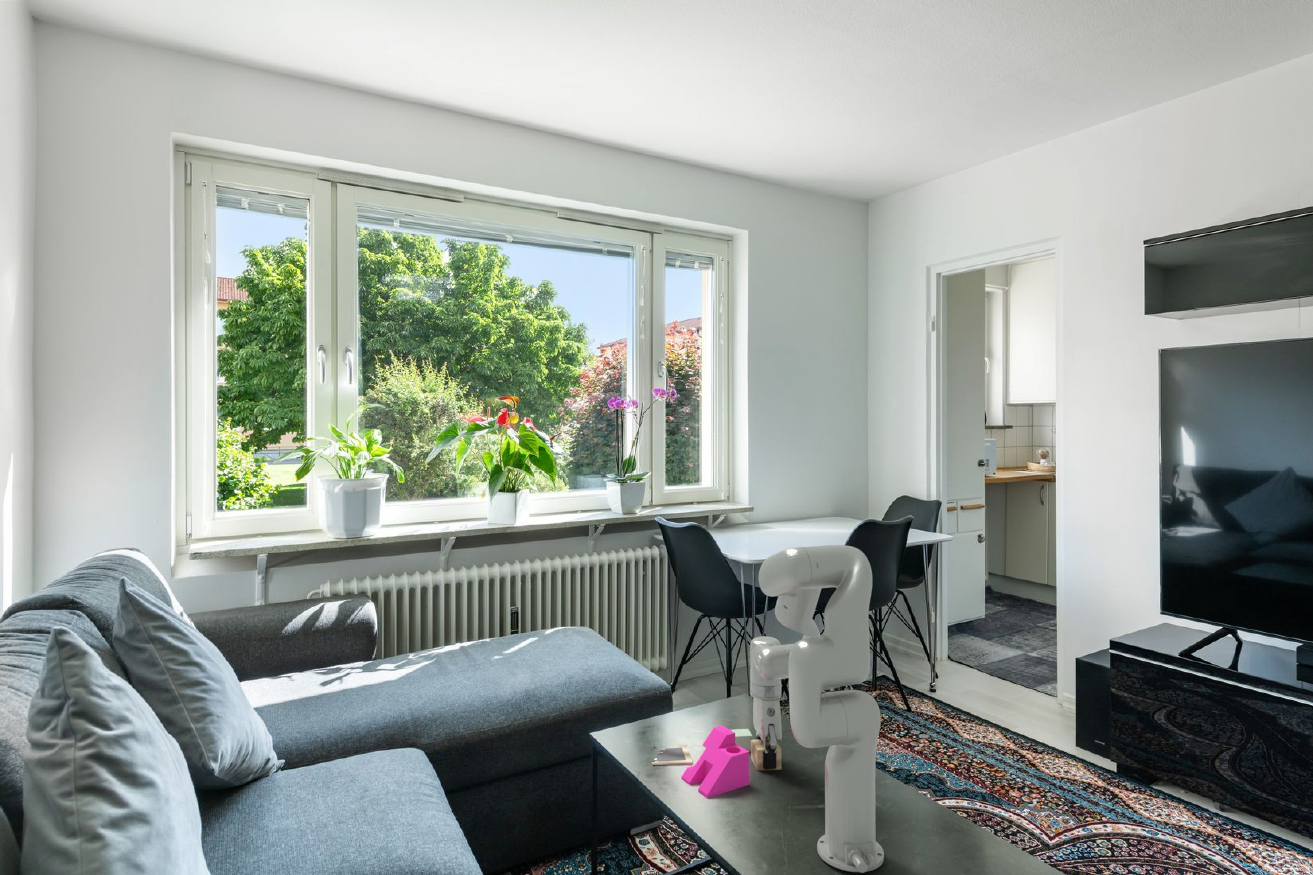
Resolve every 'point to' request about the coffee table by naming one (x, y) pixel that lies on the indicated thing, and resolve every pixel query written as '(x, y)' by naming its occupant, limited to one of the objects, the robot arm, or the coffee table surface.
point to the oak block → (757, 754)
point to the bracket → (719, 765)
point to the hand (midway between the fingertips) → (766, 761)
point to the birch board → (674, 756)
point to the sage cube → (743, 738)
